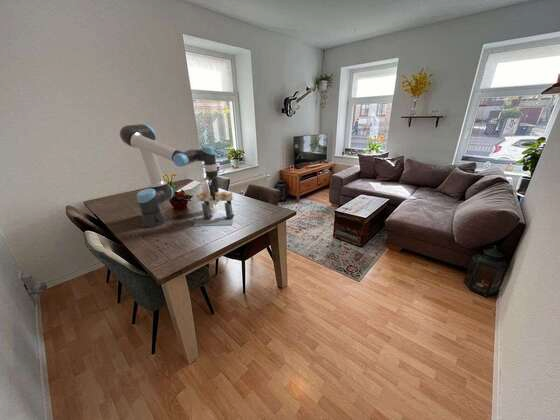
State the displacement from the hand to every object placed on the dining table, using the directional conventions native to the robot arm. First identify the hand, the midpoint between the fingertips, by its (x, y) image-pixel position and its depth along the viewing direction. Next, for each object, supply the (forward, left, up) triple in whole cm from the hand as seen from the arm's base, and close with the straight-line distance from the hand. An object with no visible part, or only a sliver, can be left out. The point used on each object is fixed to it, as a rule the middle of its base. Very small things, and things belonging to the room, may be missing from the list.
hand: (216, 203), depth 156 cm
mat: (-1, -9, -12) cm, 15 cm away
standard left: (-8, 0, -12) cm, 14 cm away
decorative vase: (-9, +12, -12) cm, 19 cm away
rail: (0, 0, +2) cm, 2 cm away
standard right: (+8, 0, -12) cm, 14 cm away
